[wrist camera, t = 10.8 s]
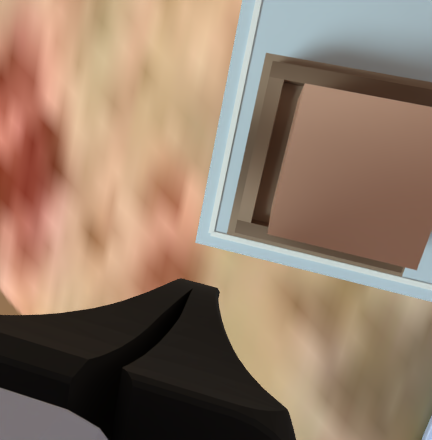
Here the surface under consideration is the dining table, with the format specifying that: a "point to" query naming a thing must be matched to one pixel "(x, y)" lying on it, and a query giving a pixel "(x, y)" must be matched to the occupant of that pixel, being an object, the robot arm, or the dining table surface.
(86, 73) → the dining table surface
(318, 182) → the terracotta block
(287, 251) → the board
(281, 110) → the frame
